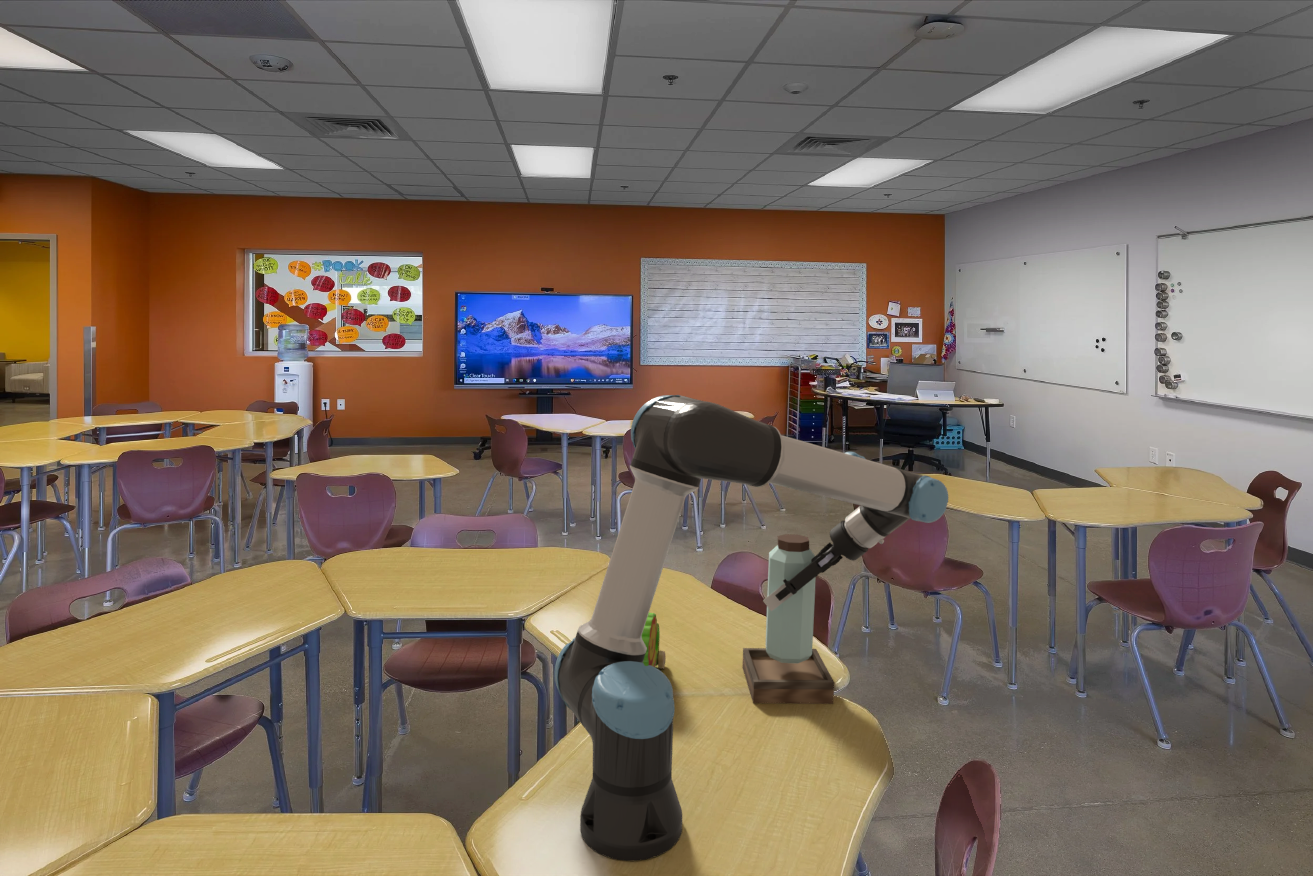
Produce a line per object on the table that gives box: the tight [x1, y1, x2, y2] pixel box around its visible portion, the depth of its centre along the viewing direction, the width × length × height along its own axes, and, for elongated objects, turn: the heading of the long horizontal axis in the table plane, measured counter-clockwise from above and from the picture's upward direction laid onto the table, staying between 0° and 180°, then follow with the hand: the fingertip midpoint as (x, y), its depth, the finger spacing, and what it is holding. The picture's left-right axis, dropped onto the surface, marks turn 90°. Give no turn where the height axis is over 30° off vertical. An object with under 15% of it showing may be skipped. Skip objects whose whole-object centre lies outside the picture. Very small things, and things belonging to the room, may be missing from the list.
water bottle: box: [765, 533, 817, 664], centre depth 158 cm, size 10×10×25 cm
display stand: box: [741, 647, 835, 705], centre depth 161 cm, size 16×16×4 cm
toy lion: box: [642, 612, 667, 669], centre depth 161 cm, size 16×5×15 cm, turn 171°
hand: (776, 597), depth 160 cm, fingers closed on water bottle, 10 cm apart
